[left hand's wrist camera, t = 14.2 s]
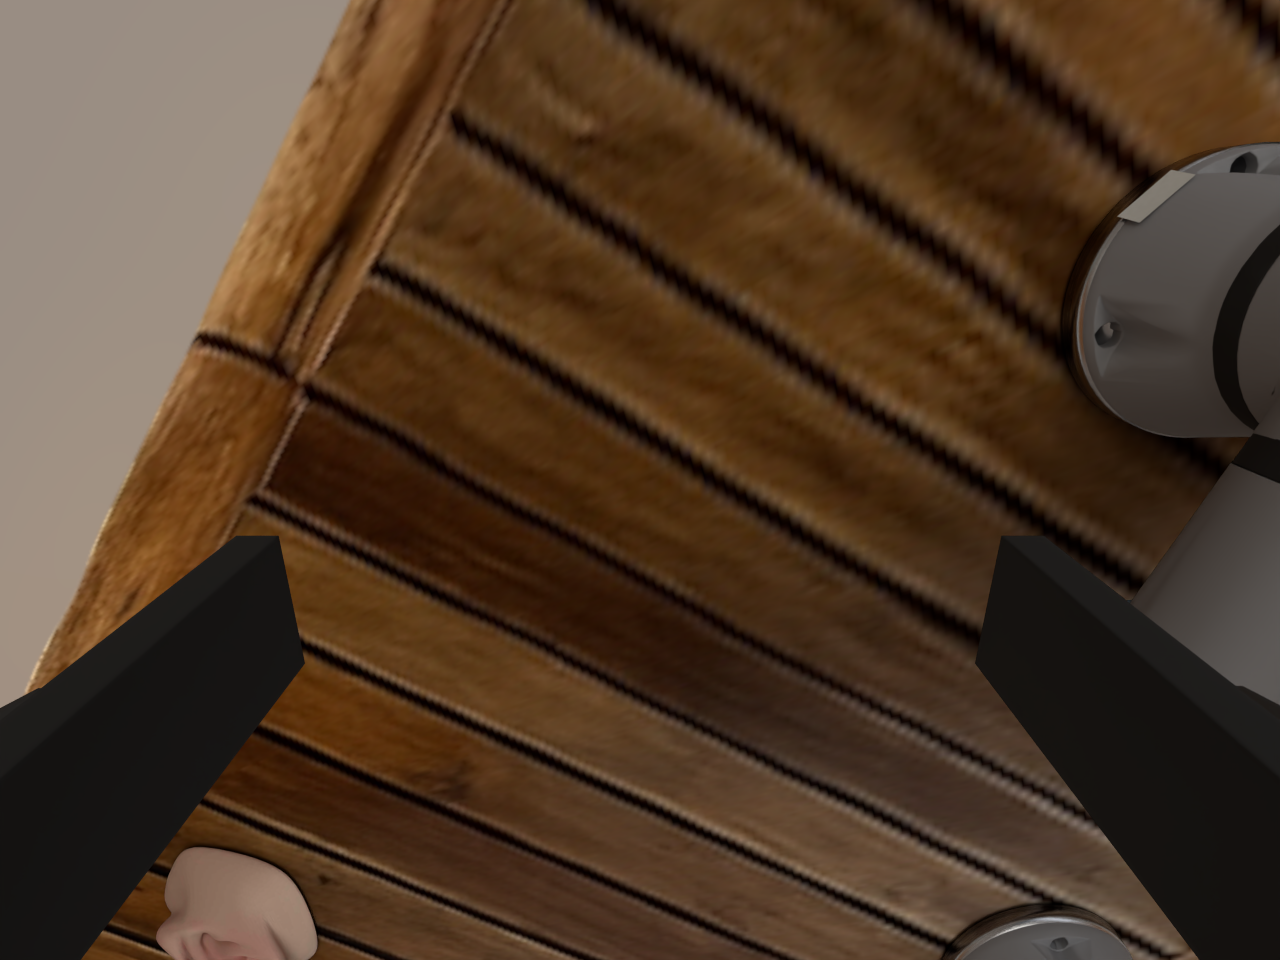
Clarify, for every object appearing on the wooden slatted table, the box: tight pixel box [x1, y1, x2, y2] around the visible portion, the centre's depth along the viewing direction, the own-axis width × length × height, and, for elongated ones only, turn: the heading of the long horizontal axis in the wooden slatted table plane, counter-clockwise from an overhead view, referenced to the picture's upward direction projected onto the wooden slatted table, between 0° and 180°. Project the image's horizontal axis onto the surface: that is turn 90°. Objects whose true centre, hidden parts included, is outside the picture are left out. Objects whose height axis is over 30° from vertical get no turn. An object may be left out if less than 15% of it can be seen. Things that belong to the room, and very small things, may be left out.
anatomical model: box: [156, 847, 317, 960], centre depth 53 cm, size 13×4×12 cm
